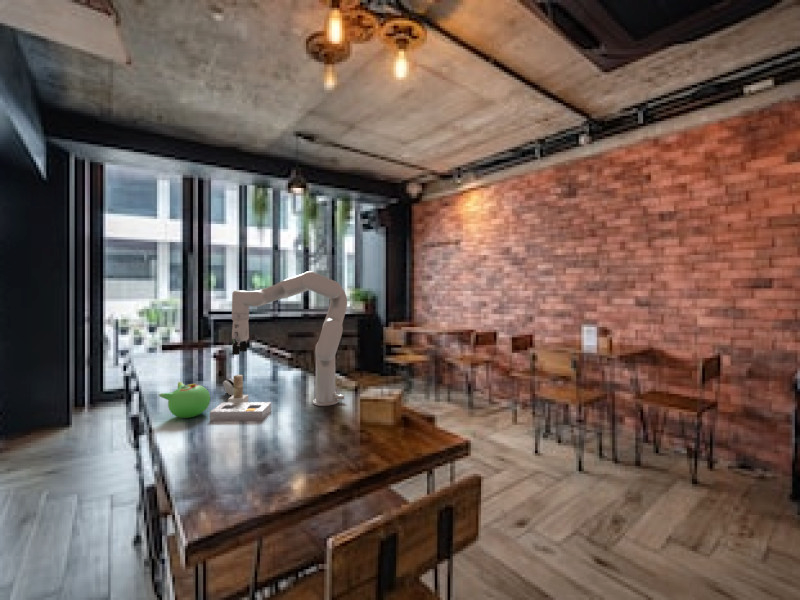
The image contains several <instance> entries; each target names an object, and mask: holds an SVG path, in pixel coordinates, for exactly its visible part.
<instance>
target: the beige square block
mask: <svg viewBox="0 0 800 600" xmlns="http://www.w3.org/2000/svg"><path fill="white" fill-rule="evenodd" d="M237 402H249V394H244V395H243V397H241V398H234V395H233V396H229V398H228V399H227V403H237Z"/></svg>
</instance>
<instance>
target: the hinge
mask: <svg viewBox="0 0 800 600" xmlns="http://www.w3.org/2000/svg"><path fill="white" fill-rule="evenodd" d="M222 385H223V387H224V389H225V392H226V393H225V394H227V393H228V395H229V396H230V395H231V396H233V395H234V378H228V379H227V380H226V379H225V380H224V381H222ZM243 395H245V394H244V393H243ZM231 396H230V397H231Z"/></svg>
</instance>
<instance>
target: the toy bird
mask: <svg viewBox="0 0 800 600" xmlns="http://www.w3.org/2000/svg"><path fill="white" fill-rule="evenodd" d="M158 396H159V397H160V398H162V399H165V400H167V401H168V402H167V407H168V410H169V412H170V413H171V414H172V415H174V416H175V417H177V418H182V419H189V418H194V417H196V416H199V415H201V414H202V413H204V412H205V411H206V410H207V409H208V407H209V405H210V402H211V395H210V392H209V391H208V389H207V388H206V387H204V386H202V385H200V384H197V383H190V384H189V383H188V384H184V383H183V382H182V381H178V383H177V388H176V389H175V390H174V391H173V392H161V393H159V394H158Z"/></svg>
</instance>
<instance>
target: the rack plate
mask: <svg viewBox="0 0 800 600" xmlns="http://www.w3.org/2000/svg"><path fill="white" fill-rule="evenodd" d="M271 412H272V402H271V401H268V402H267V401H266V402H265V401H263V402H262V401H259V402H257V401H255V402H249V401H248V402H237V403H228V402H221V403H220V404H218V405H217V406H216V407H214V408H213V409H212V410H210V411H209V422H259V421H260V422H262V421H263V420H265V418H266V417H267V416H268V415H269V414H270V413H271Z"/></svg>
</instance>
